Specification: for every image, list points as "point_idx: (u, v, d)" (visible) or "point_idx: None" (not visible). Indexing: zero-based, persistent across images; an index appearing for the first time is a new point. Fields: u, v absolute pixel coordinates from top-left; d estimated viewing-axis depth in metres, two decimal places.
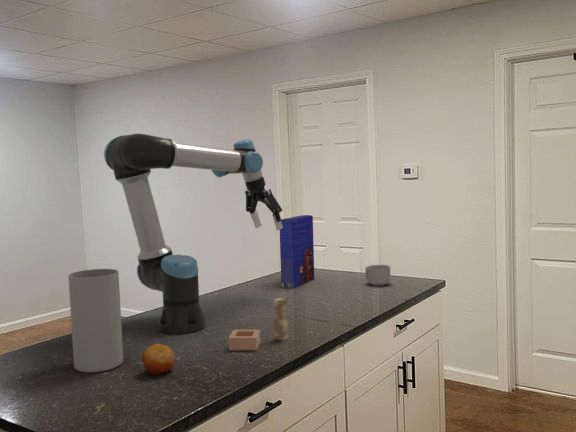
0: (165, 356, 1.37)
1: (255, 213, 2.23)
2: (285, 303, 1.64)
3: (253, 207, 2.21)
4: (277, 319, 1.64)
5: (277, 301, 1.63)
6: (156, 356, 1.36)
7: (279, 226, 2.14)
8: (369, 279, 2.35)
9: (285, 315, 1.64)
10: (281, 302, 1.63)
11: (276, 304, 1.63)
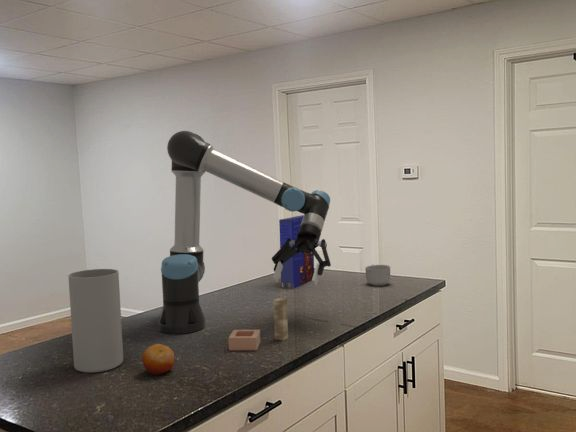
0: (165, 356, 1.37)
1: (281, 265, 1.80)
2: (285, 303, 1.64)
3: (286, 257, 1.81)
4: (277, 319, 1.64)
5: (277, 301, 1.63)
6: (156, 356, 1.36)
7: (316, 279, 1.72)
8: (369, 279, 2.35)
9: (285, 315, 1.64)
10: (281, 302, 1.63)
11: (276, 304, 1.63)
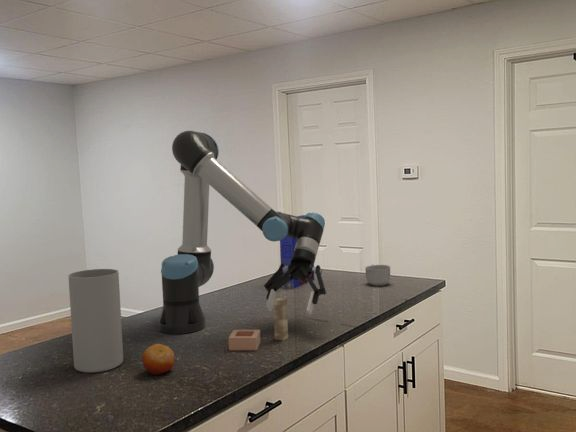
0: (165, 356, 1.37)
1: (274, 293, 1.73)
2: (285, 303, 1.64)
3: (279, 284, 1.73)
4: (277, 319, 1.64)
5: (277, 301, 1.63)
6: (156, 356, 1.36)
7: (310, 309, 1.64)
8: (369, 279, 2.35)
9: (285, 315, 1.64)
10: (281, 302, 1.63)
11: (276, 304, 1.63)
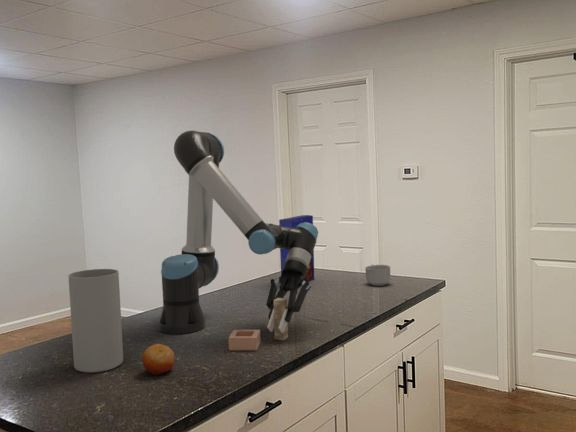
0: (165, 356, 1.37)
1: None
2: (285, 303, 1.64)
3: None
4: (277, 319, 1.64)
5: (277, 301, 1.63)
6: (156, 356, 1.36)
7: (283, 327, 1.61)
8: (369, 279, 2.35)
9: None
10: (281, 302, 1.63)
11: (276, 303, 1.63)
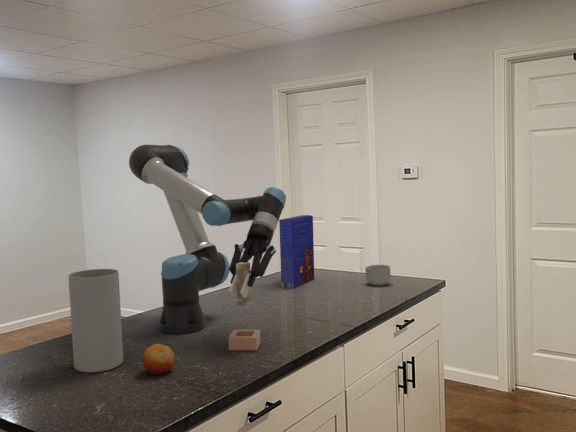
0: (165, 356, 1.37)
1: None
2: (248, 267, 1.57)
3: None
4: (240, 284, 1.57)
5: (240, 264, 1.56)
6: (156, 356, 1.36)
7: (245, 291, 1.54)
8: (369, 279, 2.35)
9: None
10: (243, 266, 1.56)
11: (239, 268, 1.56)
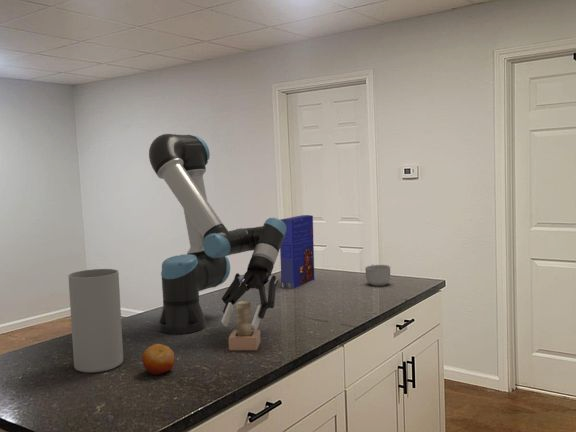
0: (165, 356, 1.37)
1: (232, 307, 1.61)
2: (248, 306, 1.58)
3: (236, 295, 1.63)
4: (240, 323, 1.57)
5: (240, 304, 1.57)
6: (156, 356, 1.36)
7: (256, 323, 1.54)
8: (369, 279, 2.35)
9: (248, 319, 1.58)
10: (244, 305, 1.56)
11: (239, 307, 1.57)
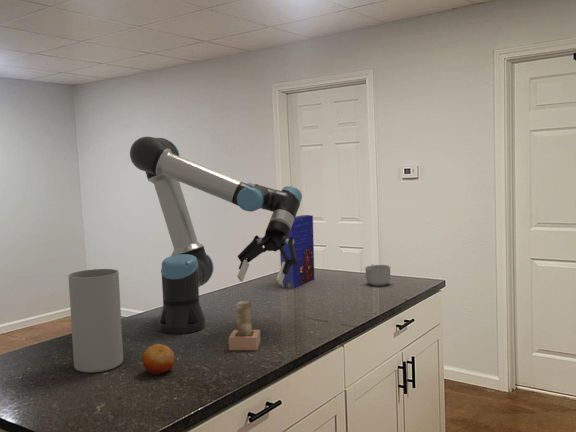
0: (165, 356, 1.37)
1: (247, 264, 1.73)
2: (249, 306, 1.58)
3: (252, 255, 1.74)
4: (240, 323, 1.57)
5: (240, 304, 1.57)
6: (156, 356, 1.36)
7: (281, 278, 1.64)
8: (369, 279, 2.35)
9: (249, 319, 1.58)
10: (244, 305, 1.56)
11: (239, 307, 1.57)
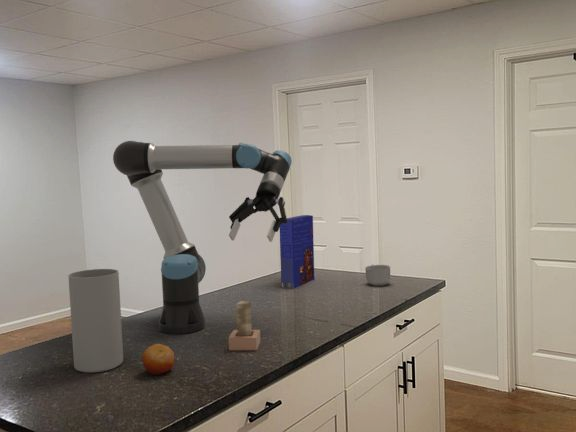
0: (165, 356, 1.37)
1: (238, 224, 1.78)
2: (249, 306, 1.58)
3: (243, 215, 1.79)
4: (240, 323, 1.57)
5: (240, 304, 1.57)
6: (156, 356, 1.36)
7: (271, 235, 1.69)
8: (369, 279, 2.35)
9: (249, 319, 1.58)
10: (244, 305, 1.56)
11: (239, 307, 1.57)
